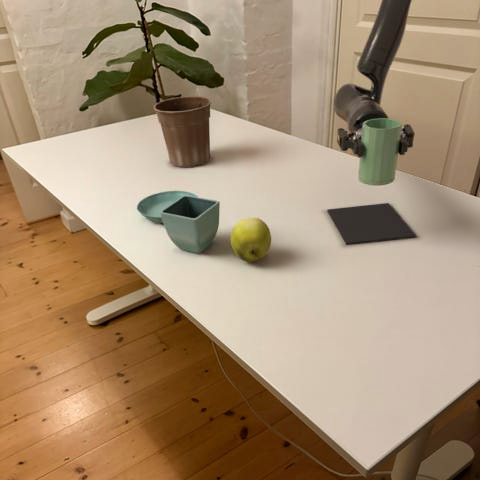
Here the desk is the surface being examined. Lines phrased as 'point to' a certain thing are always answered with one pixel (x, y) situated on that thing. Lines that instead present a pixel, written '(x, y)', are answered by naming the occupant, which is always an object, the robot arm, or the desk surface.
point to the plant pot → (185, 129)
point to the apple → (251, 239)
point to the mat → (369, 224)
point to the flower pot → (192, 222)
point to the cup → (379, 151)
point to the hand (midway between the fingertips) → (382, 150)
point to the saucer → (159, 203)
